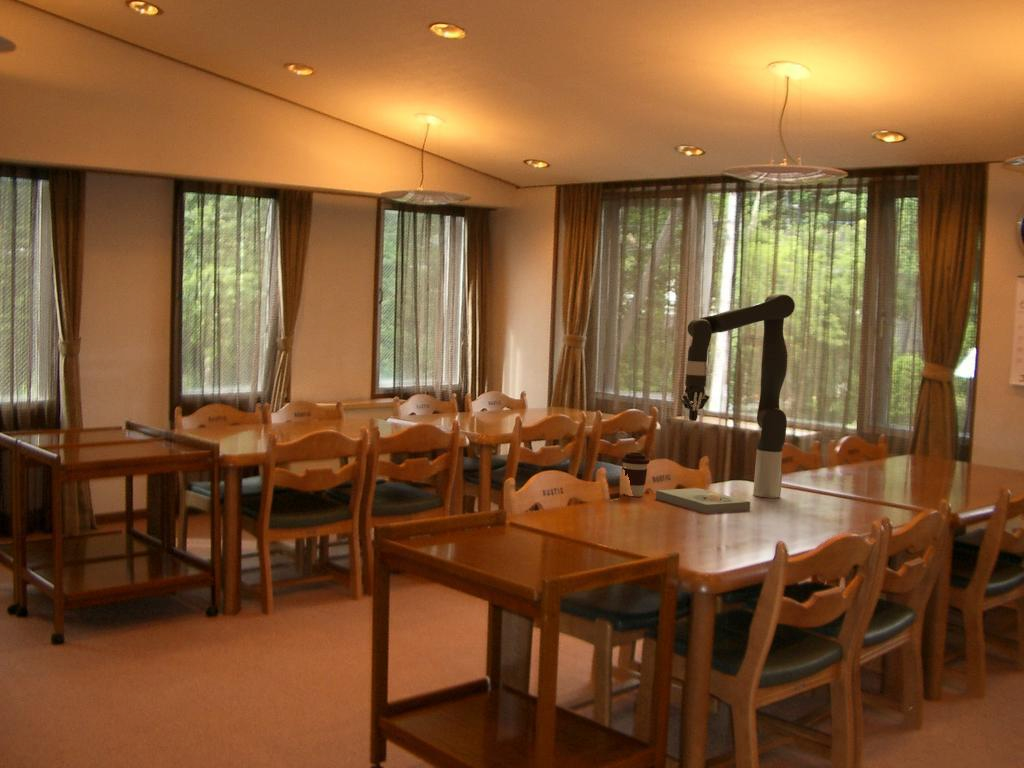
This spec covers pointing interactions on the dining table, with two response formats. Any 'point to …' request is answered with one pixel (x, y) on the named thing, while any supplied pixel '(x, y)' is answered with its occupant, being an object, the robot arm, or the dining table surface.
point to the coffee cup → (636, 471)
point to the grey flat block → (702, 500)
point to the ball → (713, 497)
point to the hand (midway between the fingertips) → (692, 420)
